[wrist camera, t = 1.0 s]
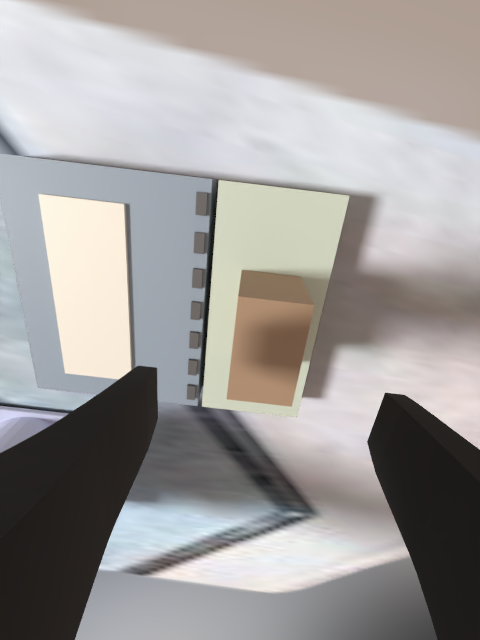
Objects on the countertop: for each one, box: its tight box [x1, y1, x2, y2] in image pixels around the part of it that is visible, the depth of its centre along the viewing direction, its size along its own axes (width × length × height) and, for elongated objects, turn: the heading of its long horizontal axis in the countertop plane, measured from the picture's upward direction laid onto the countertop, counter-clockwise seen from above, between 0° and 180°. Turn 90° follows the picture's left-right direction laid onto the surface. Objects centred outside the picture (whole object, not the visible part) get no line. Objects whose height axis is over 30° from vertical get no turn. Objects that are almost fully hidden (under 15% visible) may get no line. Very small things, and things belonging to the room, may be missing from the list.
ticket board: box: [0, 154, 217, 406], centre depth 17 cm, size 13×10×2 cm
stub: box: [202, 180, 349, 417], centre depth 16 cm, size 13×6×6 cm, turn 174°
